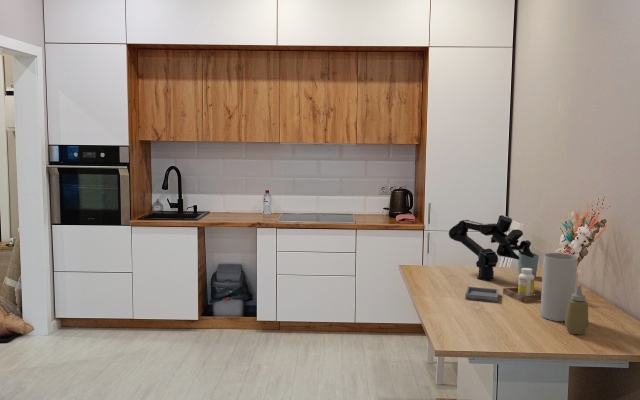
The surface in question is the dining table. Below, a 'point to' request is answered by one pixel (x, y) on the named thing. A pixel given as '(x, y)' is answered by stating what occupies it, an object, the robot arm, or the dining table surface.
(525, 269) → the supplement bottle
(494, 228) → the robot arm
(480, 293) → the slate tray
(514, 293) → the tray
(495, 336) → the dining table surface
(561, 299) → the cylinder vase
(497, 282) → the dining table surface
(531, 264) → the teal tapered cup
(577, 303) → the squeeze bottle
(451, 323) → the dining table surface
